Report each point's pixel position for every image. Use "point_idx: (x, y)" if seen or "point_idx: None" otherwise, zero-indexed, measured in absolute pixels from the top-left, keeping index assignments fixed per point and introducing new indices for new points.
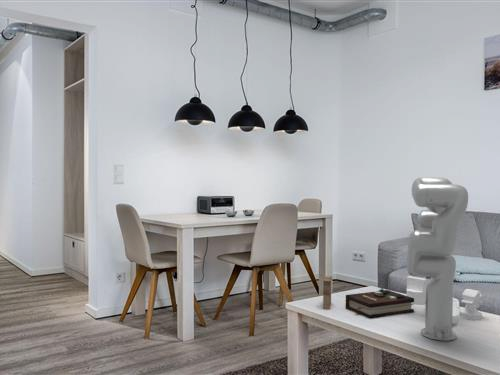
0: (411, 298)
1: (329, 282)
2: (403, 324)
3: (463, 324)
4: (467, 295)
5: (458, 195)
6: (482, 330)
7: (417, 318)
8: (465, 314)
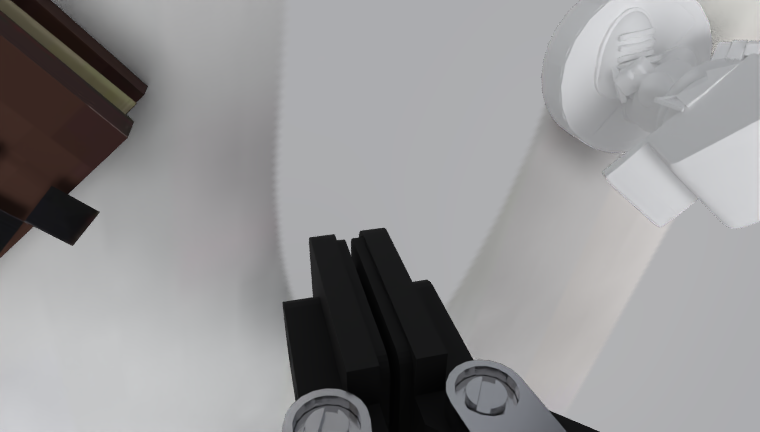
0: (94, 158)
1: None
2: (103, 427)
3: (493, 271)
4: (704, 196)
5: None
6: (557, 333)
7: (191, 265)
8: (574, 135)
